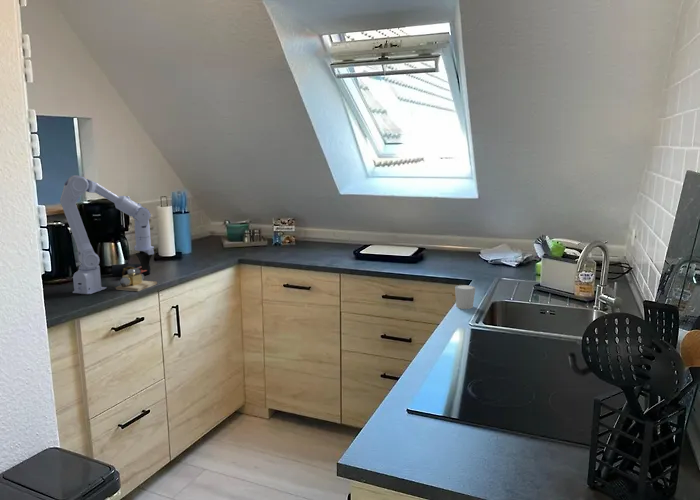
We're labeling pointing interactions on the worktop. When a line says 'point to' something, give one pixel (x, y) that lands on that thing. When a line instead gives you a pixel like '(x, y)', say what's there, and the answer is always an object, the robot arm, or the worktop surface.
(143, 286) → the board
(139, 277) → the valve body
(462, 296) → the light grey cylinder
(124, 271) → the pipe connector
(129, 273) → the lever
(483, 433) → the worktop surface
